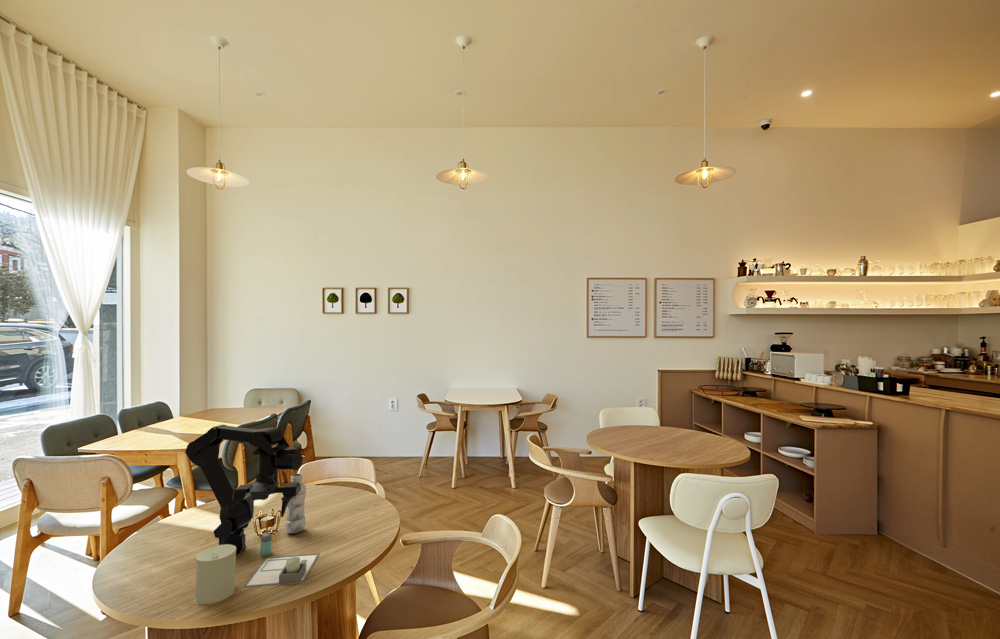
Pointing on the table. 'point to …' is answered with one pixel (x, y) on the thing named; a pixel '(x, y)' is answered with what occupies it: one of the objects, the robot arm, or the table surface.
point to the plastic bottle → (296, 508)
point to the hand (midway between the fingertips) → (266, 517)
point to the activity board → (281, 571)
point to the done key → (293, 565)
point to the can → (215, 574)
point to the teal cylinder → (266, 544)
